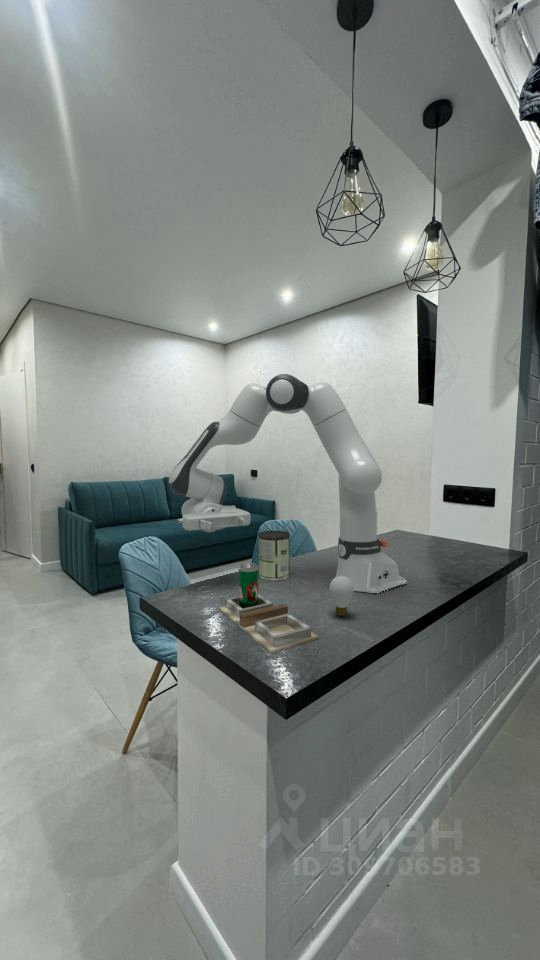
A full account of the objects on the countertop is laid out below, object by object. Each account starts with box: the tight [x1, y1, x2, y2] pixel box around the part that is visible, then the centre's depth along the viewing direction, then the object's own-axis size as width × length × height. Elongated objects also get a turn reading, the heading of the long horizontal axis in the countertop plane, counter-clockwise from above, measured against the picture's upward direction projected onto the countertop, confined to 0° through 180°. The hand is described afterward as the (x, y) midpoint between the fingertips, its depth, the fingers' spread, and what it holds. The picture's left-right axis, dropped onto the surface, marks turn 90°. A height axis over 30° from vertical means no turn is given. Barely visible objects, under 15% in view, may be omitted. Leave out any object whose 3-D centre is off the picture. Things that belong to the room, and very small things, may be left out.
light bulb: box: [329, 576, 355, 617], centre depth 97 cm, size 6×6×10 cm
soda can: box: [238, 562, 260, 609], centre depth 100 cm, size 5×5×12 cm
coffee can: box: [258, 530, 291, 581], centre depth 129 cm, size 10×10×14 cm
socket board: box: [218, 594, 319, 654], centre depth 93 cm, size 26×12×3 cm, turn 31°
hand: (227, 524), depth 109 cm, fingers open, 8 cm apart
